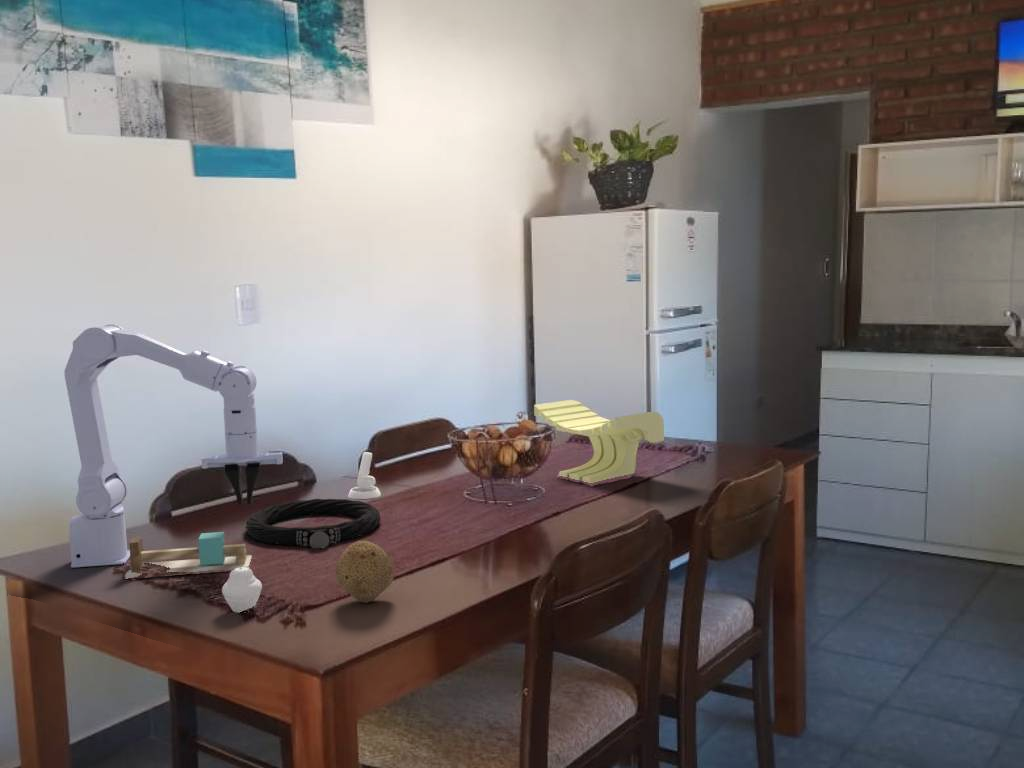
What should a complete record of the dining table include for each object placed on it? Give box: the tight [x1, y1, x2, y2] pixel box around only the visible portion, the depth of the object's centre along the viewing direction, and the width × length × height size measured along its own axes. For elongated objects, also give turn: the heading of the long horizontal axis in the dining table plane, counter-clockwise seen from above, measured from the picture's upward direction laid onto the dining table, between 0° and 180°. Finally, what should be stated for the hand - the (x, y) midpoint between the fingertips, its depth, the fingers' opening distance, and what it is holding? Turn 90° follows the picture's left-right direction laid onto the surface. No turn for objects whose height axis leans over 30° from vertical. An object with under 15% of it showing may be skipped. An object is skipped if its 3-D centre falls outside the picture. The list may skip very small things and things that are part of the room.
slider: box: [197, 531, 227, 565], centre depth 176 cm, size 4×4×5 cm
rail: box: [124, 536, 253, 579], centre depth 175 cm, size 21×7×6 cm, turn 100°
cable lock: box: [244, 498, 381, 549], centre depth 200 cm, size 28×4×30 cm
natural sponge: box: [335, 540, 394, 604], centre depth 156 cm, size 9×9×10 cm
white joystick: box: [347, 451, 382, 500], centre depth 231 cm, size 8×12×7 cm
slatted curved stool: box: [533, 399, 665, 483], centre depth 242 cm, size 30×16×18 cm, turn 38°
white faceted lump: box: [221, 567, 263, 614], centre depth 153 cm, size 6×6×7 cm
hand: (245, 503), depth 183 cm, fingers closed
